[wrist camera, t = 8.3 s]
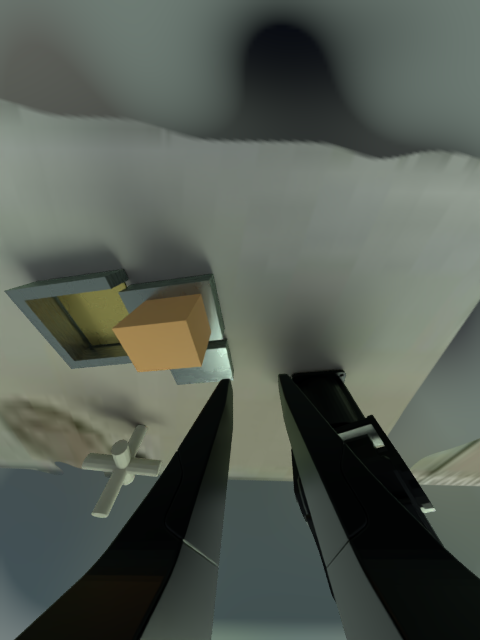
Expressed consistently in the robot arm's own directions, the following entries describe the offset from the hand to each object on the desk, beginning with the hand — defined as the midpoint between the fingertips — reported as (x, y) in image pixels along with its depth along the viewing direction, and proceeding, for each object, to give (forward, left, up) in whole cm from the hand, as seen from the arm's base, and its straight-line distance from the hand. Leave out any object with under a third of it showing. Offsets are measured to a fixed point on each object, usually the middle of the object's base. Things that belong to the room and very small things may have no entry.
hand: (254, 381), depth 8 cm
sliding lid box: (+11, 0, -10) cm, 15 cm away
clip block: (+6, 0, -8) cm, 10 cm away
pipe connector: (+20, +21, -10) cm, 31 cm away
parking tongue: (+6, +7, -10) cm, 14 cm away
